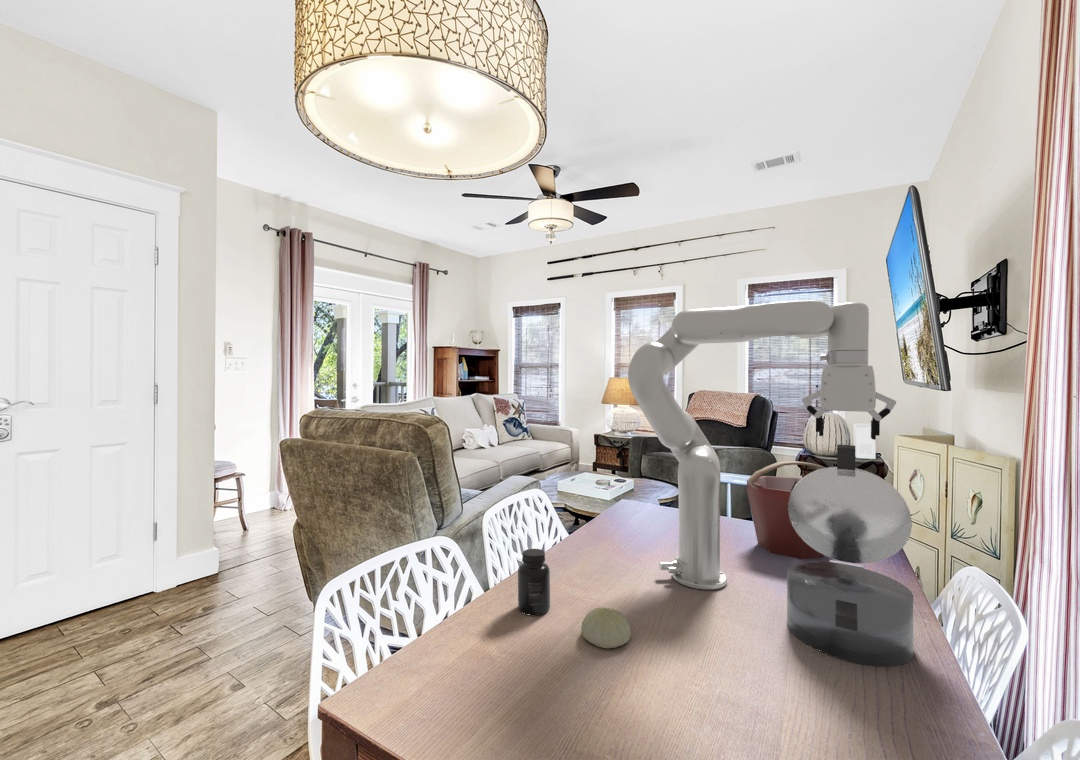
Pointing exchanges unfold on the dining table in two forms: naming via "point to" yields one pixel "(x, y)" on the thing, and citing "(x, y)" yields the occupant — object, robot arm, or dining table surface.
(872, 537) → the cooker lid
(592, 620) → the sea urchin shell
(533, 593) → the supplement bottle
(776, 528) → the bucket
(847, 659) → the cooker pot
